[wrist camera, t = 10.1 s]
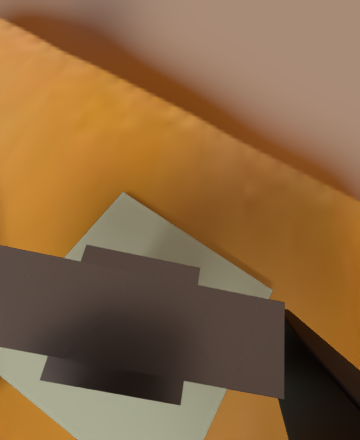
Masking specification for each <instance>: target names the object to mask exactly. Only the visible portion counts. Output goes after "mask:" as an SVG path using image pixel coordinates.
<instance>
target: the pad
mask: <svg viewBox="0 0 360 440" xmlns="http://www.w3.org/2000/svg"><path fill="white" fill-rule="evenodd" d="M86 245H91V246H96V247H101V248H106V249H111V250H116V251H121V252H126V253H131V254H135V255H140V256H145V257H150V258H155V259H160V260H165V261H170V262H175V263H180V264H185V265H189V266H194V267H199V268H200V274H199V281H198V285H201V286H206V287H211V288H216V289H221V290H226V291H231V292H236V293H240V294H245V295H250V296H255V297H260V298H265V299H269V298H270V295H271V293H272V291H273V290H272V289H270V288H269V287H267V286H266V285H264V284H263V283H261V282H260V281H258V280H257V279H255V278H254V277H252V276H251V275H249V274H247V273H246V272H244V271H243V270H241V269H240V268H238V267H237V266H235V265H234V264H232V263H231V262H229V261H228V260H226V259H225V258H223V257H222V256H220V255H219V254H217V253H216V252H214V251H212V250H211V249H209V248H208V247H206V246H205V245H203V244H202V243H200V242H199V241H197V240H196V239H194V238H193V237H191V236H190V235H188V234H187V233H185V232H184V231H182V230H180V229H179V228H177V227H176V226H174V225H173V224H171V223H170V222H168V221H167V220H165V219H164V218H162V217H161V216H159V215H158V214H156V213H155V212H153V211H152V210H150V209H149V208H147V207H145V206H144V205H142V204H141V203H139V202H138V201H136V200H135V199H133V198H132V197H130V196H129V195H127V194H126V193H124V192H122V193H121V195H120V196H119V197H118V198H117V199H116V200H115V201H114V202H113V204H112V205H111V206H110V207H109V208H108V209H107V210H106V211H105V213H104V214H103V215H102V216H101V217H100V218H99V219H98V220H97V221H96V223H95V224H94V225H93V226H92V227H91V228H90V229H89V230H88V232H87V233H86V234H85V235H84V236H83V237H82V238H81V239H80V240H79V242H78V243H77V244H76V245H75V246H74V247H73V248H72V249H71V251H70V252H69V253H68V254H67V255H66V256H65V257H64V258H66V259H71V260H76V261H81V259H82V256H83V253H84V250H85V247H86ZM47 357H48V356H45V355H40V354H35V353H29V352H24V351H18V350H13V349H7V348H2V347H0V376H1V377H2V378H3V379H5V380H6V381H7V382H8V383H9V384H11V385H12V386H13V387H14V388H16V389H17V390H18V391H19V392H20V393H22V394H23V395H24V396H25V397H26V398H28V399H29V400H30V401H31V402H32V403H34V404H35V405H36V406H37V407H39V408H40V409H41V410H42V411H43V412H45V413H46V414H47V415H48V416H49V417H51V418H52V419H53V420H54V421H55V422H57V423H58V424H59V425H60V426H62V427H63V428H64V429H65V430H66V431H68V432H69V433H70V434H71V435H72V436H74V437H75V438H76V439H77V440H204V438H205V436H206V434H207V431H208V429H209V427H210V425H211V423H212V421H213V419H214V416H215V414H216V412H217V410H218V408H219V406H220V403H221V401H222V399H223V397H224V395H225V393H226V390H227V389H225V388H220V387H214V386H209V385H203V384H198V383H192V382H187V381H184V385H183V392H182V399H181V406H180V405H174V404H169V403H163V402H158V401H152V400H146V399H141V398H135V397H130V396H124V395H119V394H113V393H107V392H102V391H96V390H91V389H85V388H80V387H74V386H68V385H63V384H57V383H52V382H46V381H41V380H40V377H41V374H42V371H43V369H44V366H45V363H46V360H47Z"/></svg>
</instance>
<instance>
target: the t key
mask: <svg viewBox="0 0 360 440" xmlns="http://www.w3.org/2000/svg"><path fill="white" fill-rule="evenodd" d="M199 274H200V268H199V267H194V266H189V265H185V264H180V263H175V262H170V261H165V260H160V259H155V258H150V257H145V256H140V255H135V254H131V253H126V252H121V251H116V250H111V249H106V248H101V247H96V246H91V245H86V247H85V250H84V253H83V256H82V259H81V261H76V260H71V259H66V258H61V257H56V256H51V255H46V254H41V253H36V252H31V251H26V250H21V249H16V248H11V247H6V246H1V245H0V347H2V348H7V349H13V350H18V351H24V352H29V353H35V354H40V355H45V356H48V357H47V360H46V363H45V366H44V369H43V371H42V374H41V377H40V380H41V381H46V382H52V383H57V384H63V385H68V386H74V387H80V388H85V389H91V390H96V391H102V392H107V393H113V394H119V395H124V396H130V397H135V398H141V399H146V400H152V401H158V402H163V403H169V404H174V405H180V406H181V399H182V392H183V385H184V381H187V382H192V383H198V384H203V385H209V386H214V387H220V388H225V389H231V390H236V391H241V392H247V393H252V394H258V395H263V396H269V397H274V398H280V399H284V321H285V302H280V301H275V300H270V299H265V298H260V297H255V296H250V295H245V294H240V293H236V292H231V291H226V290H221V289H216V288H211V287H206V286H201V285H198V281H199Z"/></svg>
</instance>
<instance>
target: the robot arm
mask: <svg viewBox="0 0 360 440" xmlns="http://www.w3.org/2000/svg"><path fill="white" fill-rule="evenodd" d="M278 400H279V404H280V408H281V412H282V416H283V420H284V423H285V427H286V431H287V435H288V439H289V440H360V370H359V369H357V368H356V367H355V366H354V365H353V364H351V363H350V362H349V361H348V360H347V359H346V358H344V357H343V356H342V355H341V354H340V353H339V352H337V351H336V350H335V349H334V348H333V347H332V346H330V345H329V344H328V343H327V342H326V341H325V340H323V339H322V338H321V337H320V336H319V335H317V334H316V333H315V332H314V331H313V330H312V329H310V328H309V327H308V326H307V325H306V324H305V323H303V322H302V321H301V320H300V319H299V318H298V317H296V316H295V315H294V314H293V313H292V312H291V311H289V310H287V309H285V321H284V399H280V398H278Z"/></svg>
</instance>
